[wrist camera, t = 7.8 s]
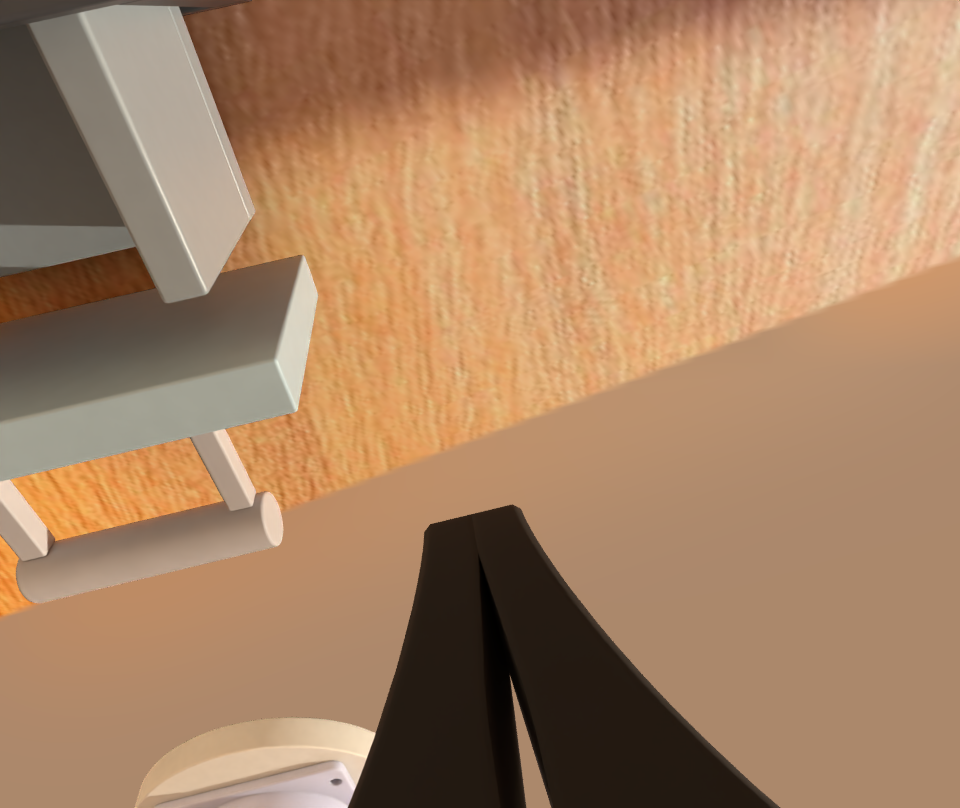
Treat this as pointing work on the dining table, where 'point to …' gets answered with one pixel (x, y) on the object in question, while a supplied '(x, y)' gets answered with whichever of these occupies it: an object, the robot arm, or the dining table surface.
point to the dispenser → (90, 8)
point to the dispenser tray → (138, 316)
